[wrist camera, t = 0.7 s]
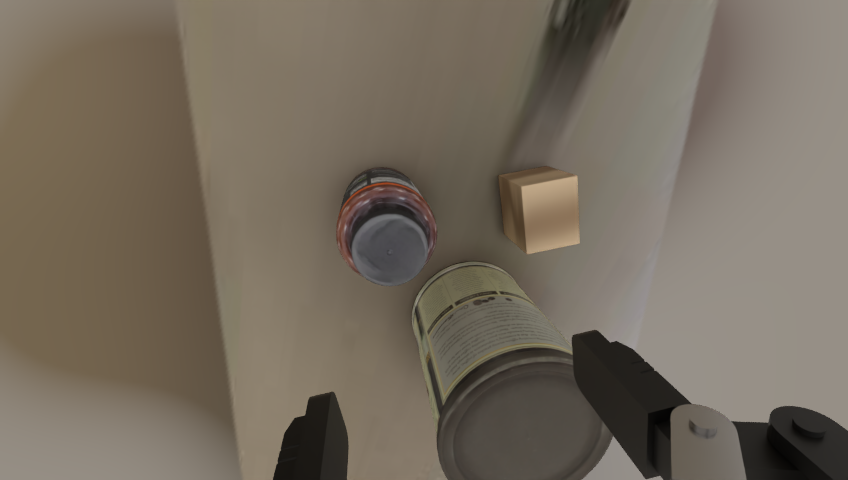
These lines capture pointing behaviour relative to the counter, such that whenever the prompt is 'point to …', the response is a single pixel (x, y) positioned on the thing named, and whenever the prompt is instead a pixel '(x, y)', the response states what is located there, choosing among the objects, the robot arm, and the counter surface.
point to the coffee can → (501, 382)
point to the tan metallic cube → (540, 208)
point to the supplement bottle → (385, 227)
